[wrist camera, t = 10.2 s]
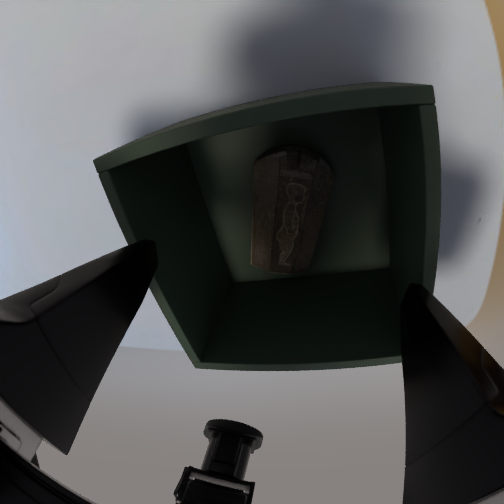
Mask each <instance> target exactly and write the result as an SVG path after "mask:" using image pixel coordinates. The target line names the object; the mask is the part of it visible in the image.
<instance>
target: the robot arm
mask: <svg viewBox="0 0 504 504" xmlns="http://www.w3.org/2000/svg"><path fill="white" fill-rule="evenodd" d="M157 267H158V255H157V247H156V243H155V242H154V241H153V240H147V239H143V240H140V241H138V242H135V243H133V244H131V245H128V246H126V247H123V248H121V249H118V250H116V251H114V252H111V253H109V254H107V255H104V256H102V257H100V258H97V259H95V260H93V261H90V262H88V263H86V264H83V265H81V266H79V267H77V268H74V269H72V270H70V271H68V272H66V273H63V274H62V275H59V276H57V277H54V278H52V279H50V280H48V281H45V282H43V283H41V284H39V285H36V286H34V287H31V288H29V289H26V290H24V291H21V292H19V293H16V294H14V295H11V296H9V297H6V298H4V299H2V300H0V504H96V503H94V502H93V501H90V500H89V499H87V498H85V497H83V496H82V495H80V494H78V493H76V492H75V491H73V490H72V489H70V488H68V487H67V486H65V485H63V484H62V483H60V482H59V481H57V480H56V479H54V478H53V477H51V476H50V475H48V474H47V473H45V472H44V471H43V470H41V469H40V467H39V464H38V460H37V455H36V451H37V449H38V447H39V445H40V443H41V441H42V440H43V441H45V442H47V443H48V444H49V445H51V446H52V447H54V448H56V449H57V450H59V451H60V452H62V453H63V454H65V455H67V454H68V453H69V451H70V448H71V446H72V444H73V441H74V439H75V437H76V434H77V432H78V430H79V427H80V425H81V423H82V421H83V418H84V416H85V414H86V412H87V410H88V408H89V405H90V402H91V401H92V398H93V397H94V394H95V392H96V390H97V388H98V386H99V384H100V382H101V380H102V378H103V376H104V374H105V372H106V370H107V368H108V366H109V364H110V362H111V360H112V358H113V356H114V354H115V352H116V350H117V348H118V346H119V344H120V343H121V341H122V339H123V337H124V335H125V333H126V331H127V329H128V328H129V326H130V324H131V322H132V320H133V318H134V317H135V315H136V313H137V311H138V309H139V307H140V306H141V304H142V302H143V300H144V297H145V295H146V293H147V290H148V288H149V286H150V283H151V281H152V279H153V276H154V274H155V272H156V270H157ZM400 325H401V356H402V366H403V378H404V391H405V414H406V415H405V416H406V458H405V459H406V460H405V465H406V467H405V478H404V493H403V504H504V369H503V368H502V367H501V366H500V365H499V364H498V363H497V362H496V361H495V359H493V357H492V356H491V355H490V354H489V353H488V352H487V351H486V349H484V347H483V346H482V345H481V344H480V343H479V342H478V341H477V340H476V339H475V337H474V336H472V334H471V333H470V332H469V331H468V330H467V329H466V328H465V327H464V326H463V325H462V324H461V323H460V322H459V321H458V320H457V319H456V318H455V317H454V316H453V315H452V313H451V312H450V311H449V310H448V309H447V308H446V307H445V306H444V305H443V304H442V303H440V302H439V301H438V300H437V299H436V298H435V297H434V296H433V295H432V294H431V293H430V292H429V291H428V290H427V289H426V288H425V287H424V286H423V285H421V284H416V283H411V284H410V285H409V286H408V288H407V290H406V293H405V295H404V297H403V299H402V301H401V305H400ZM207 433H208V438H209V445H208V449H207V451H206V454H205V458H204V461H203V464H202V467H201V470H200V469H197V468H194V467H192V466H189V467H185V468H184V471H183V474H182V477H181V479H180V481H179V483H178V485H177V487H176V489H175V491H174V496H175V498H176V504H251V502H252V497H253V492H254V486H255V482H248V481H244V477H245V472H246V469H247V465H248V461H249V457H250V453H254V449H255V445H256V440H257V438H255V437H252V436H246V435H242V434H237V433H232V432H228V431H224V430H219V429H215V428H211V427H208V429H207ZM193 477H194V478H195V479H194V480H193ZM196 478H197V479H196ZM203 480H204V481H203ZM207 481H208V482H207ZM214 483H215V484H214ZM218 484H219V485H218ZM222 485H223V486H222ZM226 486H227V487H226ZM230 487H231V488H230ZM235 488H236V489H235ZM239 489H240V490H239ZM243 490H245V493H244V491H243Z"/></svg>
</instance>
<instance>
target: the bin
mask: <svg viewBox="0 0 504 504" xmlns="http://www.w3.org/2000/svg"><path fill="white" fill-rule="evenodd" d="M434 104H435V96H434V90H433V86H432V85H426V84H413V83H396V82H373V83H361V84H352V85H343V86H335V87H328V88H321V89H314V90H308V91H302V92H296V93H291V94H286V95H280V96H276V97H271V98H266V99H262V100H257V101H253V102H249V103H244V104H240V105H236V106H233V107H229V108H225V109H221V110H218V111H214V112H211V113H207V114H204V115H200V116H197V117H194V118H191V119H188V120H184V121H181V122H178V123H175V124H173V125H170V126H168V127H165V128H163V129H160V130H158V131H155V132H153V133H150V134H148V135H146V136H143V137H141V138H139V139H136V140H134V141H132V142H130V143H127V144H125V145H123V146H121V147H119V148H117V149H114V150H112V151H110V152H108V153H106V154H104V155H102V156H100V157H98V158H96V159H94V160H93V162H94V165H95V168H96V170H97V173H99V178H100V180H101V183H102V186H103V188H104V191H105V193H106V195H107V198H108V200H109V203H110V205H111V207H112V210H113V212H114V214H115V217H116V219H117V221H118V224H119V226H120V228H121V230H122V233H123V235H124V237H125V239H126V241H127V243H128V245H131V244H133V243H135V242H138V241H140V240H143V239H147V240H153V241H154V242H155V243H156V247H157V255H158V267H157V270H156V272H155V274H154V276H153V279H152V281H151V283H150V286H149V288H150V290H151V292H152V294H153V296H154V297H155V299H156V301H157V303H158V305H159V307H160V309H161V310H162V312H163V314H164V316H165V318H166V319H167V321H168V323H169V325H170V326H171V328H172V330H173V332H174V333H175V335H176V337H177V339H178V340H179V342H180V344H181V345H182V347H183V349H184V350H185V352H186V354H187V355H188V357H189V359H190V360H191V361H192V363H193V365H194V367H195V368H200V369H216V370H241V371H301V370H324V369H325V370H326V369H341V368H355V367H367V366H377V365H386V364H394V363H401V362H402V356H401V325H400V305H401V301H402V299H403V297H404V295H405V293H406V290H407V288H408V286H409V285H410V284H411V283H416V284H421V285H423V286H424V287H425V288H426V289H427V290H428V291H429V292H430V293H431V294H432V295H433V292H434V285H435V277H436V269H437V260H438V249H439V236H440V217H441V162H440V144H439V131H438V121H437V112H436V106H435V105H434ZM292 145H295V146H299V147H303V148H306V149H309V150H311V151H313V152H315V153H317V154H318V155H320V156H321V157H322V158H323V159H324V160H325V161H326V162H327V163H328V164H329V166H330V167H331V168H332V169H333V172H334V174H335V179H334V182H333V186H332V190H331V194H330V197H329V201H328V205H327V208H326V212H325V216H324V219H323V223H322V227H321V230H320V234H319V237H318V240H317V244H316V247H315V251H314V254H313V258H312V261H311V264H310V268H309V270H305V271H300V272H296V273H293V274H282V273H275V272H269V271H266V270H263V269H261V268H259V267H256V266H253V265H252V264H251V265H250V261H251V234H252V197H253V165H254V161H255V160H256V159H257V156H258V157H259V156H261V155H262V154H263V153H265V152H267V151H269V150H271V149H274V148H276V147H280V146H292Z"/></svg>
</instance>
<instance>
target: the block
mask: <svg viewBox="0 0 504 504" xmlns="http://www.w3.org/2000/svg"><path fill="white" fill-rule="evenodd" d="M334 179H335V174H334V172H333V169H332V168H331V167H330V166H329V164H328V163H327V162H326V161H325V160H324V159H323V158H322V157H321V156H320V155H318V154H317V153H315V152H313V151H311V150H309V149H306V148H303V147H299V146H295V145H292V146H280V147H276V148H274V149H271V150H269V151H267V152H265V153H263V154H262V155H261V156H259V157H258V156H257V159H256V160H255V161H254V165H253V197H252V234H251V261H250V265H251V264H252V265H253V266H256V267H259V268H261V269H263V270H266V271H269V272H275V273H282V274H293V273H296V272H300V271H305V270H309V268H310V264H311V261H312V258H313V254H314V251H315V247H316V244H317V240H318V237H319V234H320V230H321V227H322V223H323V219H324V216H325V212H326V208H327V205H328V201H329V197H330V194H331V190H332V186H333V182H334Z"/></svg>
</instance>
